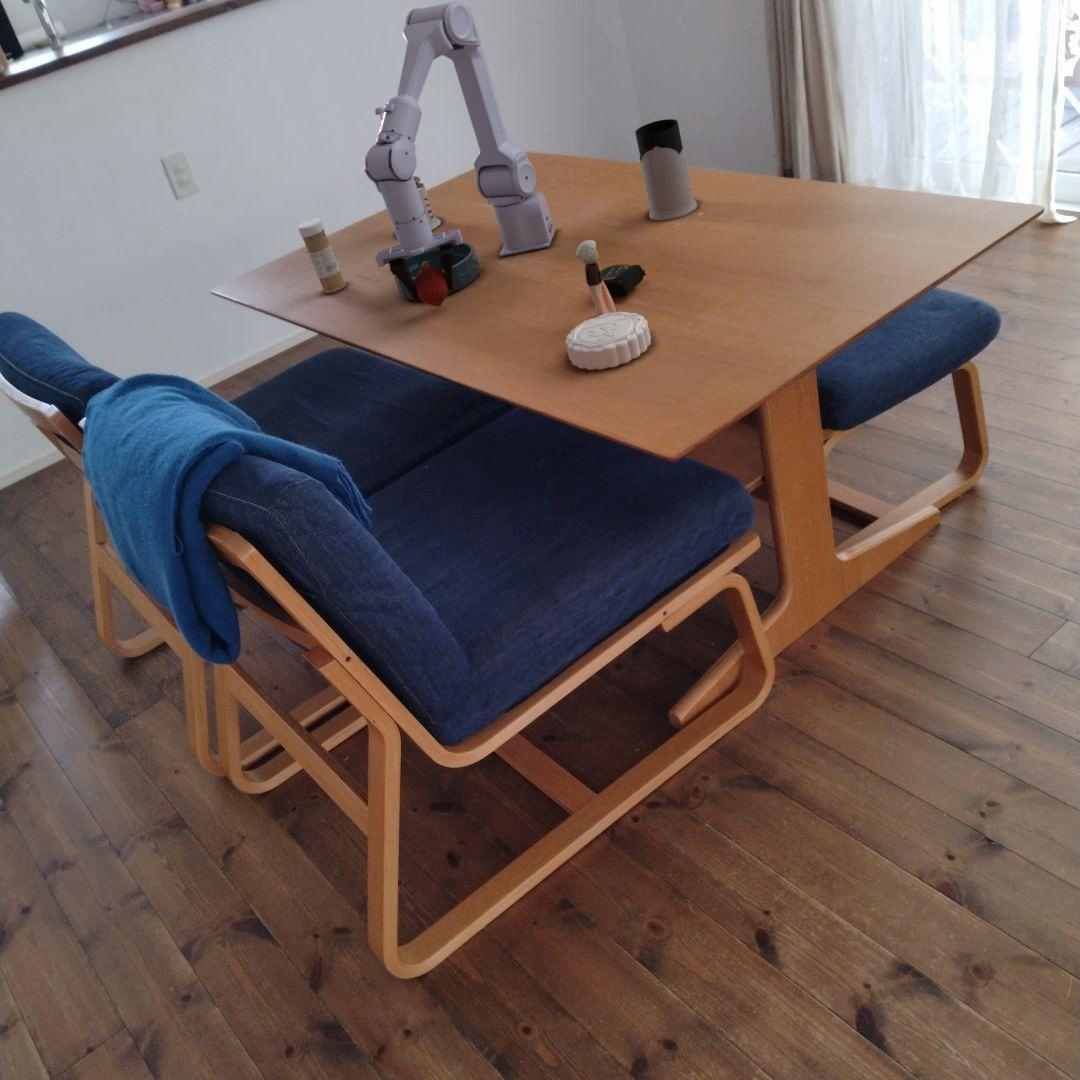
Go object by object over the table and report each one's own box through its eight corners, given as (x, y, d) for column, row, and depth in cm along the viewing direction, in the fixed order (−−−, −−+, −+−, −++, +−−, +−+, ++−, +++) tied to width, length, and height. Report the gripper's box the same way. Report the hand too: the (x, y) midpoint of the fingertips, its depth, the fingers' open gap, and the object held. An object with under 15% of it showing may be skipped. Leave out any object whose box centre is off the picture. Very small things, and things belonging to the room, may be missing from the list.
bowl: (488, 258, 204) (481, 235, 201) (471, 292, 192) (463, 268, 189) (412, 274, 208) (404, 251, 206) (391, 308, 196) (383, 285, 193)
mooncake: (573, 378, 154) (566, 356, 152) (567, 344, 164) (561, 322, 162) (656, 356, 153) (651, 333, 151) (646, 323, 163) (640, 300, 161)
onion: (449, 311, 185) (435, 266, 181) (418, 316, 187) (403, 272, 183) (458, 296, 190) (444, 252, 185) (428, 301, 191) (413, 258, 187)
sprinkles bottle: (342, 281, 215) (317, 216, 208) (349, 287, 212) (323, 220, 204) (320, 291, 214) (294, 225, 207) (327, 296, 210) (300, 229, 203)
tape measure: (627, 303, 170) (622, 281, 168) (590, 303, 174) (584, 281, 172) (648, 283, 174) (643, 261, 172) (611, 283, 178) (606, 262, 176)
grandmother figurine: (624, 324, 164) (604, 243, 157) (599, 332, 164) (579, 252, 157) (610, 307, 171) (591, 229, 164) (587, 315, 171) (567, 237, 164)
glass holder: (646, 223, 197) (628, 140, 189) (656, 195, 208) (639, 115, 200) (694, 214, 194) (678, 129, 186) (702, 186, 205) (687, 105, 197)
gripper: (364, 237, 177) (392, 314, 184) (450, 212, 176) (475, 290, 183) (367, 223, 183) (394, 298, 190) (451, 199, 181) (475, 276, 189)
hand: (434, 294), depth 187 cm, fingers closed on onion, 6 cm apart
